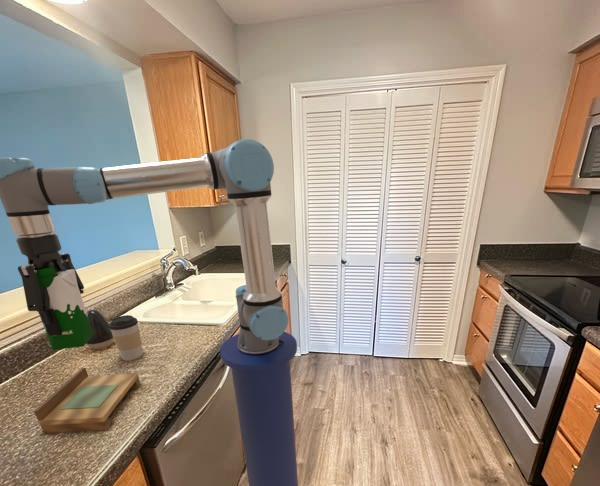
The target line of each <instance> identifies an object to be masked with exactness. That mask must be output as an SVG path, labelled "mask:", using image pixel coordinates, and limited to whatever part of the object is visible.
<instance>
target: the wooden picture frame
mask: <svg viewBox="0 0 600 486" xmlns="http://www.w3.org/2000/svg"><path fill="white" fill-rule="evenodd" d="M140 386H141V381H140V377H139V374H138V373H120V374H101V375H99V374H98V375H89V373H88V371H87V368H86V367H81V368H80V369H78V371H77V372H76V373H74V374H73V375H72V376H71V377H69V379H68V380H66V382H64V383H63V384H62V385H61V386H60V387H59V388H58V389H56V390H55V392H53V393H52V394H51V395H50V396H48V397H47V399H45V400H44V401H43V402H42V403H41V404H40V405H39V406H38V407H36V409H34V410H33V413H34V415H35V417H36V419H37V421H38V424H39V426H40V428H41V430H42V432H43V434H52V433H53V434H54V433H55V434H56V433H71V432H72V433H75V432H90V431H91V432H93V431H107V430H108V429H109V428H110V426H111V421H110V418H109V416H110V415H111V414H112V412H113V411H114V410H115V409H116V408H117V406H118V404H119V403H120V402H121V401H122V400H123V398H124V397H125V396H126V395H127V393H128V392H129V390H130V389H138V388H139V387H140Z"/></svg>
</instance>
